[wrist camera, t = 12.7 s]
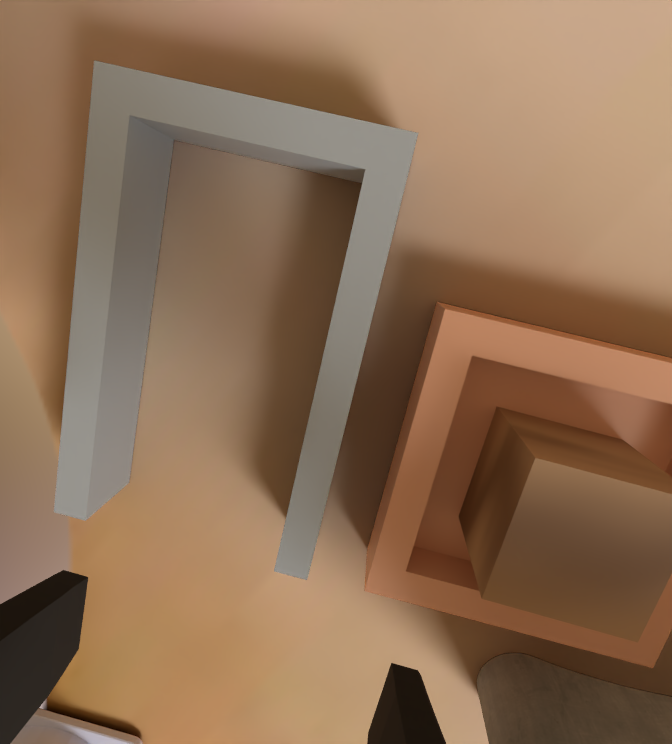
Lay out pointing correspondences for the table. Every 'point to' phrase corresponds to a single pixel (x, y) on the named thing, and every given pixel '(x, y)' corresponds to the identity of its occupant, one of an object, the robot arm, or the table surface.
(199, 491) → the table surface
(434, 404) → the tray
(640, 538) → the walnut cube
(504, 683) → the hip flask
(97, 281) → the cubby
